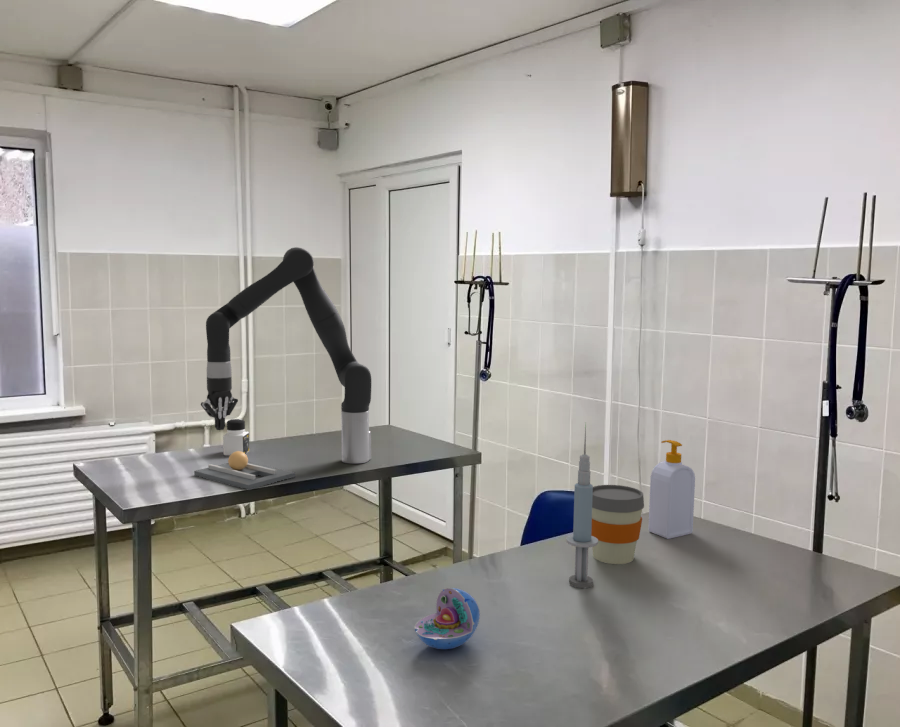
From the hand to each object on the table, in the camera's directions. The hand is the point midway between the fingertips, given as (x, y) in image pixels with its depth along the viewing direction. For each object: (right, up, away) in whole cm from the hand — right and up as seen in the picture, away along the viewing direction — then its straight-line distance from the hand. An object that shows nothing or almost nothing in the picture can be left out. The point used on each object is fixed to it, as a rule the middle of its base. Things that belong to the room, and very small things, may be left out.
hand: (220, 429), depth 242 cm
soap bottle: (+127, -21, -53) cm, 140 cm away
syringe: (+100, -24, -85) cm, 134 cm away
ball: (+7, -9, -4) cm, 12 cm away
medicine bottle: (-2, -11, +25) cm, 27 cm away
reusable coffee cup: (+110, -23, -70) cm, 132 cm away
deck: (+9, -14, -5) cm, 18 cm away
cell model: (+73, -27, -112) cm, 136 cm away
